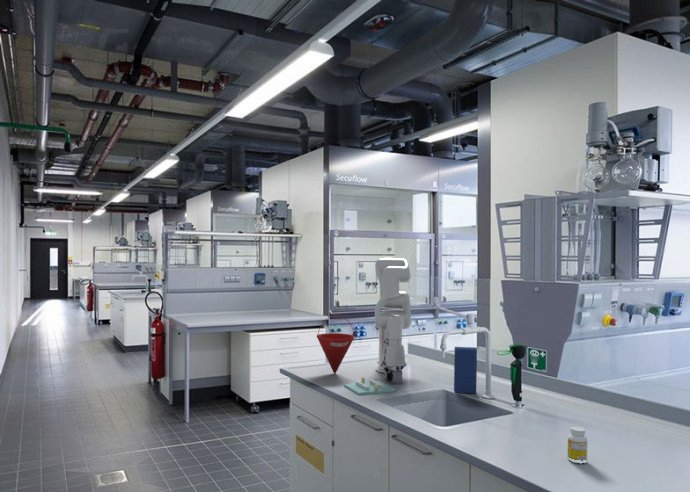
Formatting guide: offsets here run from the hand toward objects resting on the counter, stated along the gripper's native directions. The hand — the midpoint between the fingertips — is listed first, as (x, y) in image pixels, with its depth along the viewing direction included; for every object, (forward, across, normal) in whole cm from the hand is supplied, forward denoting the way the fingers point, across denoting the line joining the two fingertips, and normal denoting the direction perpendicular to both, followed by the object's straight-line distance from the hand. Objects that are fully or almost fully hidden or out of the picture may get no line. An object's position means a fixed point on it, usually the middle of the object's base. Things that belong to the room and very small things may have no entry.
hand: (393, 380), depth 245 cm
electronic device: (+1, +21, -28) cm, 35 cm away
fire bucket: (+1, -20, +25) cm, 32 cm away
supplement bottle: (+1, +4, -104) cm, 104 cm away
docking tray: (+1, -17, -8) cm, 19 cm away
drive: (+1, 0, 0) cm, 1 cm away
